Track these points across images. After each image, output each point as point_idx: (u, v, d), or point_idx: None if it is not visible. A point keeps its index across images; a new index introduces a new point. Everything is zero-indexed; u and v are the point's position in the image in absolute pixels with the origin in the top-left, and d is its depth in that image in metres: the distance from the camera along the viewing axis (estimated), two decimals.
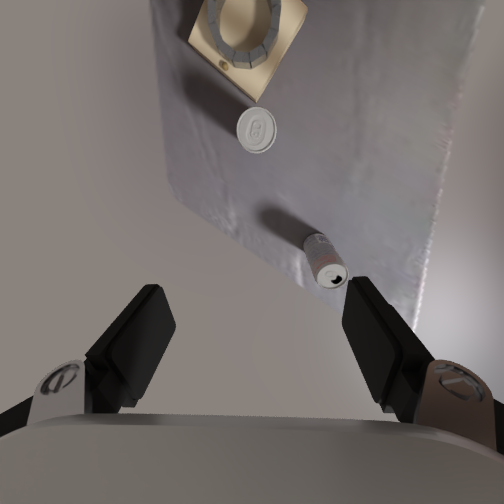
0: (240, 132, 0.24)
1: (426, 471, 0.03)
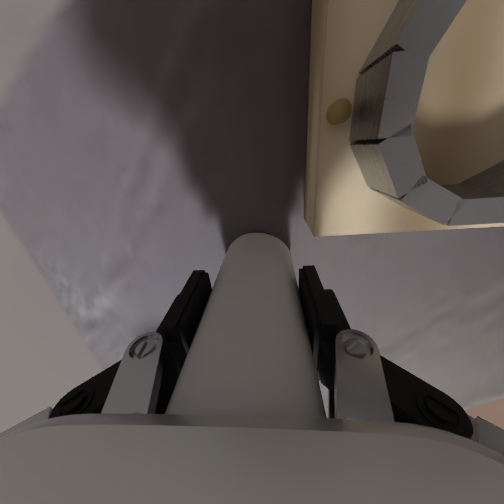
0: None
1: (426, 471, 0.03)
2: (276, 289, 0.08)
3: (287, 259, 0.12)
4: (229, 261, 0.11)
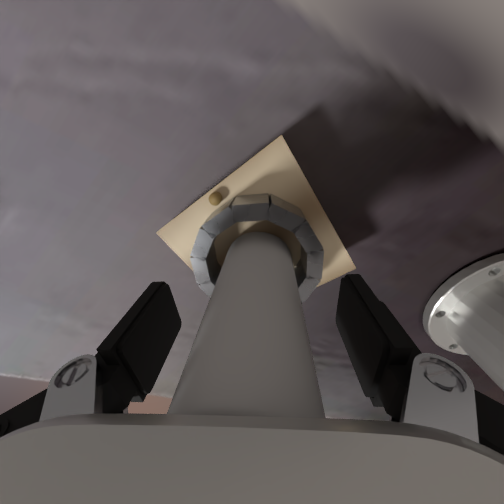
0: None
1: (426, 471, 0.03)
2: (276, 285, 0.09)
3: (287, 257, 0.12)
4: (231, 259, 0.11)
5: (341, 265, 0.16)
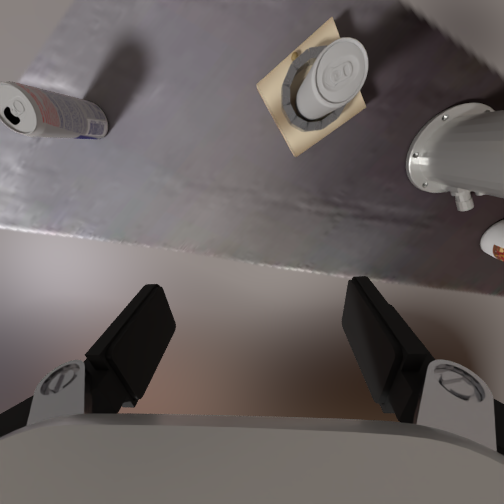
0: (327, 53, 0.17)
1: (426, 471, 0.03)
2: None
3: None
4: None
5: (358, 105, 0.28)
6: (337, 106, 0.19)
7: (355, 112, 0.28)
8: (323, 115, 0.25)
